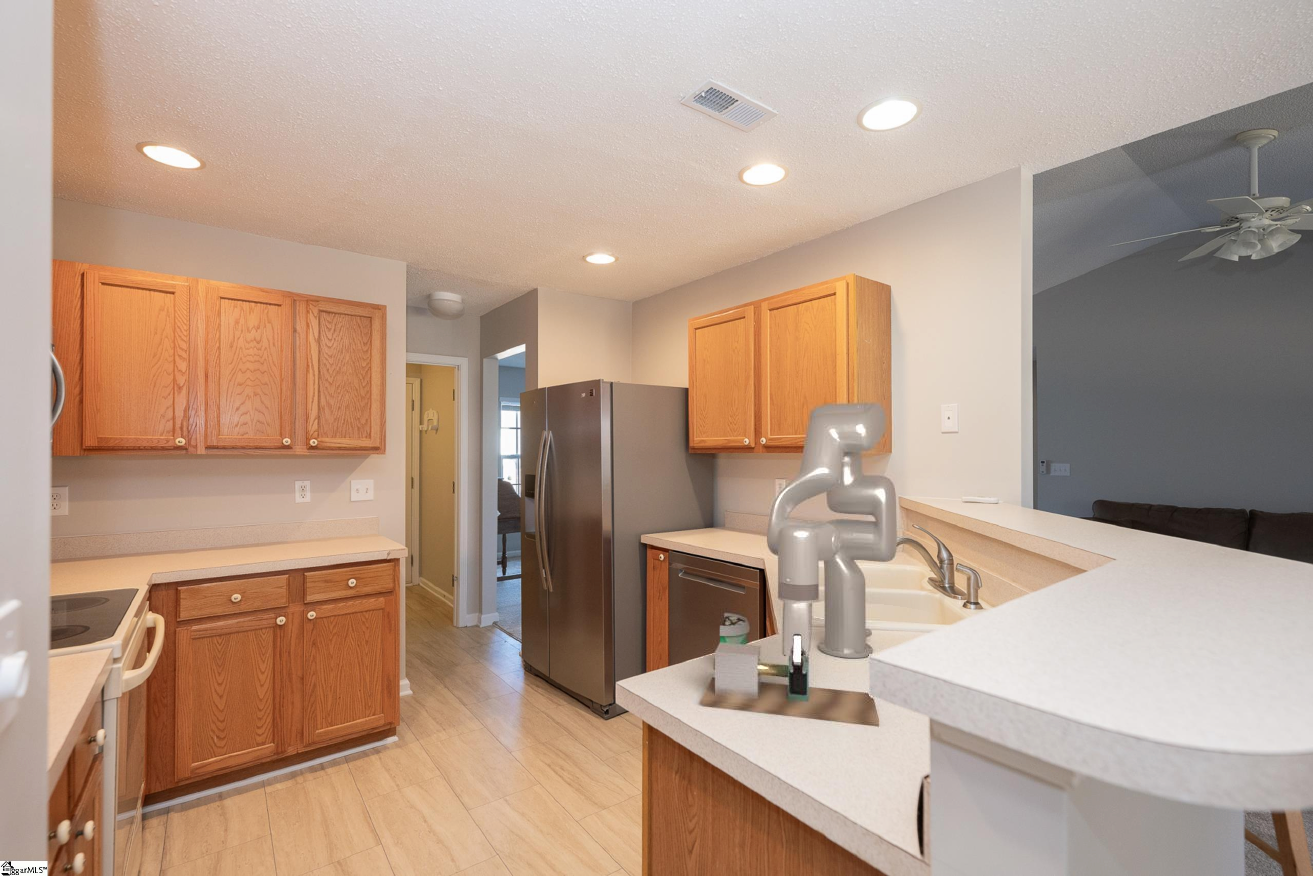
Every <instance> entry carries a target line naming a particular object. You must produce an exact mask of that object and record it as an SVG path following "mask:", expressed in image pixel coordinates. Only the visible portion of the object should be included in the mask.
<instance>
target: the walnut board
mask: <svg viewBox="0 0 1313 876" xmlns="http://www.w3.org/2000/svg"><path fill="white" fill-rule="evenodd" d="M868 693H869V692H863V691H855V690H854V691H853V690H843V689H835V688H834V689H833V688H832V689H831V688H825V687H824V688H823V687H815V686H814V687H813V686H809V701H808V702H804V701H795V700H788V684H787V683H786V684H785V683H776V682H764V681H760V691H759V695H758V699H753V698H744V697H735V696H725V695H716V694H715V676H712V677H711V679H710V681H709V684H708V685H707V687H706V689H705V691H704V693H703V696H702V698H701V706H702V707H708V708H709V707H710V708H717V709H724V710H725V709H728V710H736V711H744V712H752V713H760V714H768V715H769V714H770V715H778V716H786V717H787V716H788V717H796V718H804V719H813V720H821V721H828V722H829V721H831V722H839V723H848V724H855V725H862V726H863V725H864V726H873V727H880V719H879V714H878V709H877V707H876V702H875V699H873V698H874V697H873V698H871V697H870V696H869V694H868Z"/></svg>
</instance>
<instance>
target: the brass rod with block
mask: <svg viewBox="0 0 1313 876" xmlns="http://www.w3.org/2000/svg"><path fill="white" fill-rule="evenodd" d="M713 659H714V660H713V670H714V671H715V658H713ZM809 659H810V656H808V657H807V658H806V671H805V673H807V695H796V694H790V693H789V683H787V685H788V700H795V701H804V702H808V701H809V687H810V685H809V684H810V679H809V678H810V675H809V673H810V670H809V669H810V664H809V663H810V662H809V661H810V660H809ZM793 661H794V659H793ZM801 661H802V662H803V660H801ZM802 670H803V667H802ZM789 671H790V654H789V655H788V664H780V663H779V664H778V663H769V662H761V661H760V662H758V675H760V676H769V677H777V678H788V679H789ZM802 672H803V671H802Z"/></svg>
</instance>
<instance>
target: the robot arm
mask: <svg viewBox="0 0 1313 876" xmlns="http://www.w3.org/2000/svg"><path fill="white" fill-rule="evenodd" d="M886 427H887V414H886V411H885V409H884V407H883V406H882V405H881V404H880V403H877V402H851V403H850V402H847V403H844V402H843V403H829V404H828V403H827V404H822V405H818V406H816V407H815V406H814V408H813V409H811V410H810V412H809V422H808V424H807V428H806V434H805V438H804V439H805V440H804V444H803V445H804V446H803V452H802V456H801V461H800V462H801V463H800V468H799V473H798V474H797V476H796V477H794V478H793V479H792V480H791V481H789V482H788V483H787V484H786V485H785V487H783V488H782V490H781V491H780V492H779V493H778V495H777V496H776V498H775V499H774V501H773V504H772V506H771V510H770V516H769V519H768V525H767V531H766V532H767V533H766V544H767V545H766V546H767V548H768V550H769V552H771V553H772V554H773V555H774V556H777V599H778V600H779V601H782V602H783V606H782V644H781V645H782V649H781V653H782V656H784V657H786V655H787V656H789V655H790V671H789V678H788V684H789V693H790V694H796V695H807V673H805V671H806V658H807V657H810V651H811V644H812V631H813V630H812V629H813V604H815V603H818V602H819V601H820V599H819V597H820V596H819V594H820V589H819V587H820V585H819V584H820V583H819V582H820V581H819V579H820V578H819V577H820V574H819V571H820V569H819V567H820V566H819V565H820V564H819V562H823V568H824V570H823V571H824V572H823V573H824V577H823V578H824V582H823V583H824V586H823V587H824V639H822V640H820V641H818V643H817V647H818V650H820V651H821V652H822V653H823V654H827V655H830V656H833V657H834V656H835V657H838V658H839V657H840V658H847V659H861V658H867V657H869V656H868V655H869V654H871V653H872V654H873V650H874V649H873V647H872V645H870V644H868V643H867V640H866V639H867V638H868V637H871V636H872V634H873V632H872V629H870V628H868V627H867V626H866V624H867V623H866V619H867V618H866V612H867V611H866V577H865V574H864V572H863V571H862V569H861V568H860V566H859V565H858V564H857V562H856V561H868V562H879V563H885V562H887V563H888V562H890V561H892V560H893V559H894V558H895V556H896V554H897V548H898V533H897V531H898V528H897V526H898V525H897V494H896V489H895V485H894V483H893V481H892V479H891V478H889V477H887V476H885V475H877V474H876V475H874V474H873V475H871V474H870V475H869V474H868V475H867V474H865V475H864V473H863V456H862V455H863V454H862V453H861V452H869V451H871V450H873V449H874V448H875V446H877V444H878V443H879V441H880V440H881V439H882V437H883V435H884V434H885V430H886ZM822 494H826V504H827V507H828V509H829V510H830V511H831V512H834V513H837V514H845V515H846V514H848V515H863V516H872V517H873V518H874V520H864V519H863V520H860V519H848V518H847V519H846V518H835V519H830V520H828V521H826V522H823V521H822V522H819V521H818V522H817V521H804V520H791V519H790V520H789V516H790V514H791V512H792V511H793V510H794V509H795V508H796V507H797V506H799V505H800V504H802V503H803V502H805V501H807V500H809V499H812V498H814V497H816V496H819V495H822ZM872 654H871V655H872ZM793 659H794V661H793ZM801 660H803V662H802V661H801ZM802 667H803V670H802ZM802 671H803V672H802Z"/></svg>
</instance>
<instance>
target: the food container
mask: <svg viewBox="0 0 1313 876" xmlns="http://www.w3.org/2000/svg"><path fill="white" fill-rule="evenodd" d="M723 616H724V617H723V621H722V624H721V625H719V644H720V643H732V644H743V645H747V637H748V634H747V633H749V632H750V630H751V628H750V623H749V621H748V618H746V617H745V616H742V615H739V614H735V613H729V612H728V613H727V612H724V615H723Z"/></svg>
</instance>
